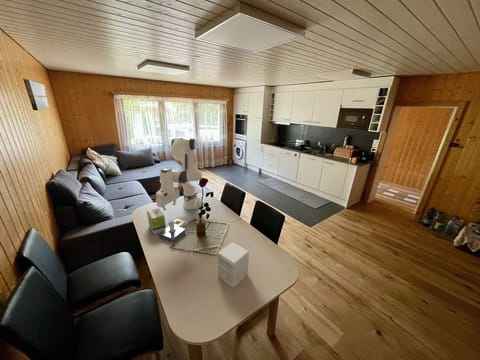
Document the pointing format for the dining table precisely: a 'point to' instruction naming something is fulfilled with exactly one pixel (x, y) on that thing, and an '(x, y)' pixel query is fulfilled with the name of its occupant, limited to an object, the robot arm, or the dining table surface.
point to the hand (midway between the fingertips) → (169, 207)
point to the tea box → (156, 220)
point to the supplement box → (233, 264)
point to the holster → (179, 223)
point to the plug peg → (171, 227)
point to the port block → (172, 237)
